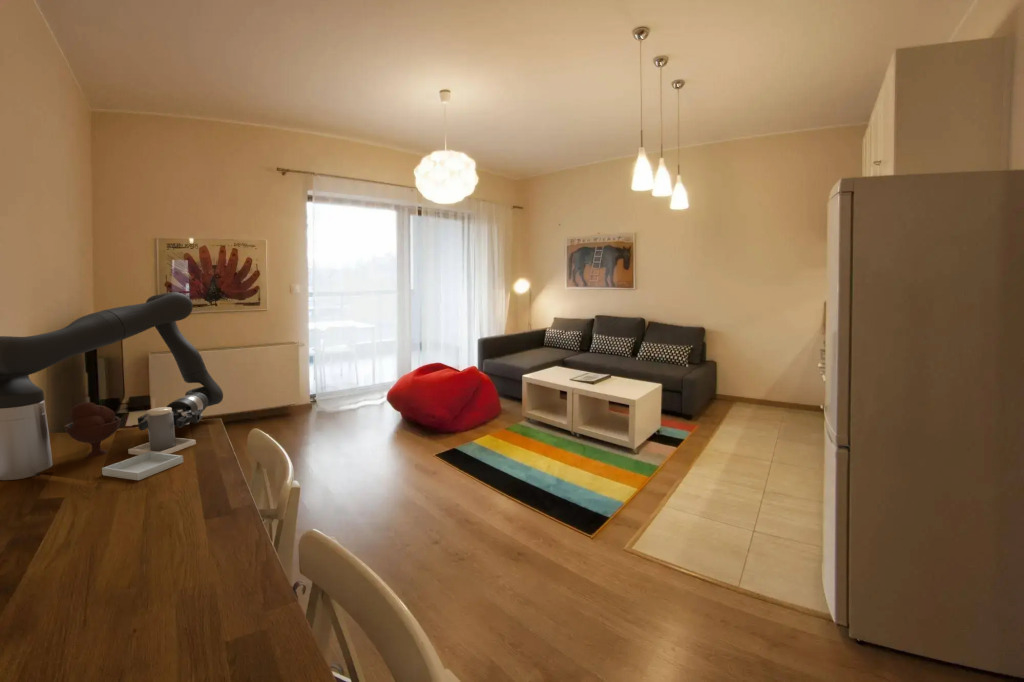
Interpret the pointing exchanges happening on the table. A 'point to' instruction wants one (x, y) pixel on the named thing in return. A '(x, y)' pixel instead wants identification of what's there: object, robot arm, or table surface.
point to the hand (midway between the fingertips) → (159, 425)
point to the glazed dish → (142, 465)
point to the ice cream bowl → (92, 425)
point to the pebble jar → (161, 429)
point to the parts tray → (180, 444)
